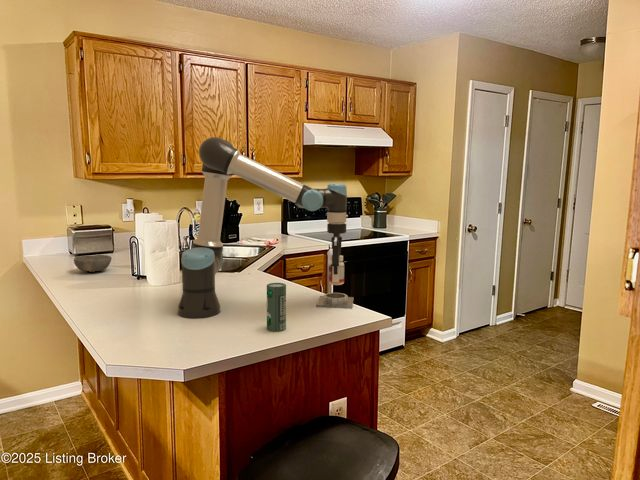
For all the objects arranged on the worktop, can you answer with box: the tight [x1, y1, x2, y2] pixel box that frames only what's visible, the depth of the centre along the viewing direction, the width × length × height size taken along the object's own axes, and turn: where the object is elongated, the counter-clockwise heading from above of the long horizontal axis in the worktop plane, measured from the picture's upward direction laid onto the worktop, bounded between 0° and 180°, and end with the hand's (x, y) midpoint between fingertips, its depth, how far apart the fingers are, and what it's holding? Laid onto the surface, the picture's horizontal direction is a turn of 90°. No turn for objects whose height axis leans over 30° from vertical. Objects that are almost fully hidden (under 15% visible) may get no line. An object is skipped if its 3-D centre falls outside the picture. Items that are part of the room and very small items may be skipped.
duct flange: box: [315, 292, 354, 310], centre depth 189 cm, size 14×14×3 cm
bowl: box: [73, 254, 112, 273], centre depth 243 cm, size 18×18×8 cm
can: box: [266, 282, 287, 333], centre depth 156 cm, size 6×6×15 cm
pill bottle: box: [328, 254, 345, 286], centre depth 188 cm, size 6×6×11 cm
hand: (336, 280), depth 188 cm, fingers closed on pill bottle, 6 cm apart
